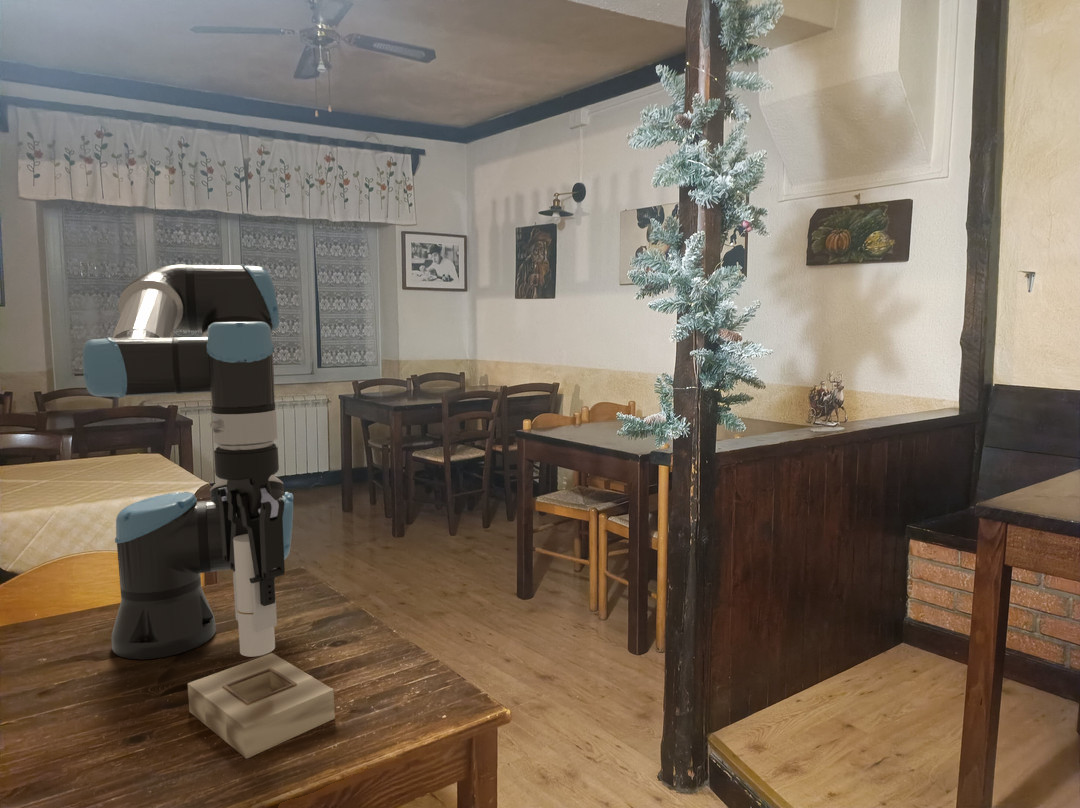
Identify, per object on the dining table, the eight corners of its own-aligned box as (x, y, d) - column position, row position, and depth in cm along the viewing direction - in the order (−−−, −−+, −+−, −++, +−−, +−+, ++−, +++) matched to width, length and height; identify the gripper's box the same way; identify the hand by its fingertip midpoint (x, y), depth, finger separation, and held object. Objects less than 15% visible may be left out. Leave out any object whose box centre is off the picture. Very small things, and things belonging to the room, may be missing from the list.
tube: (263, 657, 96) (257, 542, 94) (233, 655, 97) (226, 541, 95) (281, 643, 100) (275, 533, 98) (252, 641, 101) (245, 531, 99)
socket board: (189, 711, 101) (187, 681, 100) (273, 679, 110) (272, 651, 109) (246, 758, 90) (244, 725, 89) (334, 718, 99) (333, 687, 98)
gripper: (186, 441, 98) (198, 614, 101) (250, 456, 87) (261, 651, 89) (242, 434, 104) (251, 598, 107) (309, 447, 92) (318, 631, 95)
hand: (256, 622), depth 98 cm, fingers closed on tube, 4 cm apart
